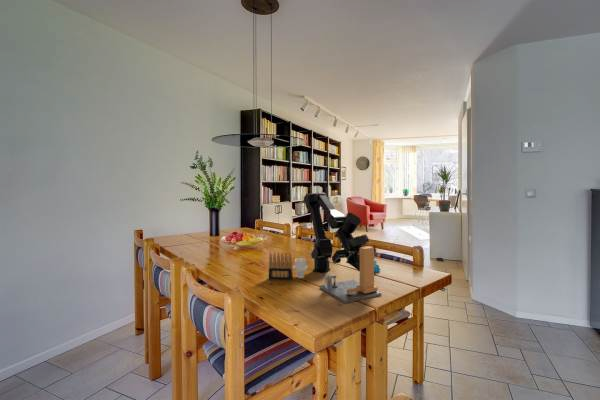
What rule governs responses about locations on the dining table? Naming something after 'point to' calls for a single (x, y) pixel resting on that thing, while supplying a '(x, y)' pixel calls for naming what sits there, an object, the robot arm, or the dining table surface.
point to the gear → (376, 267)
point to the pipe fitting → (300, 267)
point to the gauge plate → (345, 290)
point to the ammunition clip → (276, 270)
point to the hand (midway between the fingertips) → (363, 272)
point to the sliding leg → (366, 271)
